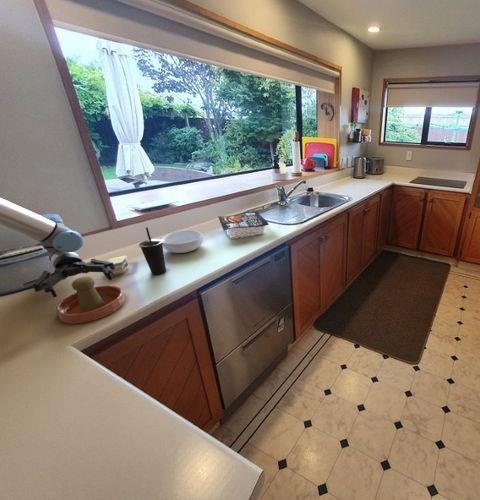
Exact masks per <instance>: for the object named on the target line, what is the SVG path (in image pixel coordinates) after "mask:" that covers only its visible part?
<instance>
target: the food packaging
mask: <svg viewBox="0 0 480 500" xmlns="http://www.w3.org/2000/svg"><path fill="white" fill-rule="evenodd" d="M217 218H218V221H219V222H220V223H219V224H220V225H221V228H222V230H223V231H224V232H226V234H227V237H229V238H230V240H233V239H234V240H235V239H240V238H247V237H248V238H249V237H255V236H260V235H264V234H265V227H266V226H269V225H270V224H269V223H268V221H267V219H265V218H264V217H263V216H261V214H260V213H259V211H245V212H240V213H236V214H232V215H224V216H219V215H218V216H217Z"/></svg>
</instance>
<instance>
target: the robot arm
mask: <svg viewBox="0 0 480 500" xmlns="http://www.w3.org/2000/svg"><path fill="white" fill-rule="evenodd" d="M0 228H3V229H6V230H8V231H11V232H13V233H15V234H19V235H21V236H24V237H26V238H29V239H32V240H34V241H36V242H39V243H40V244H41V246H42V249H43V250H44V249H46V250H47V251H48V253H49V259H48V260H49V262H50V263H51V266H52V267H53V269H54V271H53V270H52V271H48V270H44V271H42V274H41V275H40V276H39V277H38V278H37V279H36V280H34V282H33V283H32V284H31V286H32V288H33V290H34V291H35V293H38V292H40V291H42V290H43V292H44V293H46V294H48V293H51V295H52V297H53V298H58V295H57V293H56V291H55V289H54V286H56V285H57V284H58V283H59V282H61V281H64V280H66V279H67V278H69V277H73V276H77V275H79V274H88V273H102V274H103V275H104V276H105V277H106V279H107V280H108V281H112V280H113V278H112V276H111V274H113V272H112V271H111V270H114V269H115V267H114V264H113V262H109V261H106V260H99V259H96V258H91V259H90V261H87V262H86V261H84V260H83V259H82V258H81V257H80V255H79V254H78V253H77V251H78V250H79V251H80V249H81V248H82V247H83V245H84V242H85V241H84V238H83V236H82V235H81V234H80V233H79V232H78V231H77V230H73V229H72V228H69V227H68V226H67V225H65V223H64V220H63V219H62V218H61V215H59V214H57V213H47V214H41V215H40V214H38V213H36V212H33V211H31V210H29V209H26V208H24V207H22V206H20V205H18V204H16V203H13V202H11V201H9V200H7V199H5V198H2V197H0Z"/></svg>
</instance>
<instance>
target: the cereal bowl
mask: <svg viewBox="0 0 480 500" xmlns="http://www.w3.org/2000/svg"><path fill="white" fill-rule="evenodd" d="M160 240H162V241H163V243H162V246H163V249H165V250H166V251H168V252H170V253H175V254H185V253H189V252H192V251H195V250H197V249H198V248H200V247H201V246H202V244H203V241H204V238H203V234H202V233H201V232H200V231H197V230H179V231H174V232H170V233H167V234H165V235H163V236H162V237H161V239H160Z"/></svg>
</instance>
